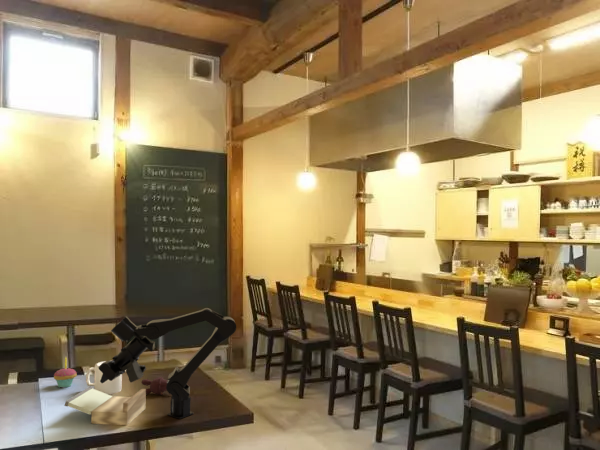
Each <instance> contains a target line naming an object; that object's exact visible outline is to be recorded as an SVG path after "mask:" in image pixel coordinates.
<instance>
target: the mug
mask: <svg viewBox="0 0 600 450" xmlns="http://www.w3.org/2000/svg"><path fill="white" fill-rule="evenodd" d="M106 361H107V360H104V361H99V362H96V363H95V364H94V367H93V366H92V367H90V368H88V371H87V373H86V375H85V381H86V385H87V387H94V388H93V389H95V390H98V391H100V392H103V393H105V394H108V395H112V394H113V395H114V394H117V393H120V392H121V391H122V388H123V387H122V385H123V384H122V383H123V381H122V380H123V374H120V376H118V377H116V378H115V379H114V380H112V381H110V380H109V379H108V380H107V381H105V382H104V383H101V382H100V380H101V377H102V375H103V373H102V372H101V371H100V370H99V368H98V367H99V366H100V365H101V364H102V363H104V362H106ZM92 371H94V382H91V381H90V375H91V372H92Z"/></svg>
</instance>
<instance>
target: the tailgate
mask: <svg viewBox="0 0 600 450" xmlns="http://www.w3.org/2000/svg"><path fill="white" fill-rule="evenodd" d="M111 397H113V395H111V394H105V393H103V392H100V391H98V390H95V389H94V388H93V386H88V387H87V388H85V389H84V390H82V391H80V392H78V393H77V394H75V395H73V396H72V397H69V398H68V399H67V400H65V402H64V405H63V406H64V407H70V408H72V409H75V410H77V411H79V412H82V413H85V414H86V415H90V416H91V414H92V411H93V410H94V409H96V408H97V407H98V406H100V405H101V404H103V403H104V402H106V401H107V400H108V399H110V398H111Z"/></svg>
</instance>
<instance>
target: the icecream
mask: <svg viewBox="0 0 600 450" xmlns="http://www.w3.org/2000/svg"><path fill="white" fill-rule="evenodd" d="M167 381H168V379H164V377H163V376H160V377H156V378H154V379H152V380H150V379H148V378H147V379H145V378H144V379H142V381H141V384H142V386H148V387H149V388H145V389H146V395H149V394H151V393H152V394H153V395H159V396H163V394H164V393H165V392H168V391H167V389H166V385H167Z"/></svg>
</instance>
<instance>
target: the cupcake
mask: <svg viewBox="0 0 600 450" xmlns="http://www.w3.org/2000/svg"><path fill="white" fill-rule="evenodd" d="M67 360H68V358H67V356H65V358H64V368H60V369H58V370H56V372H54V374H53V379H54V380H55V381H56V383H57V387H58V388H60V387H65V388H69V387H71V386H72V384H73V381H74V379H75V378H76V377H77V371H76V369H73V368H69V367H68V368H67V365H68V364H67V363H68V361H67Z"/></svg>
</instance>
